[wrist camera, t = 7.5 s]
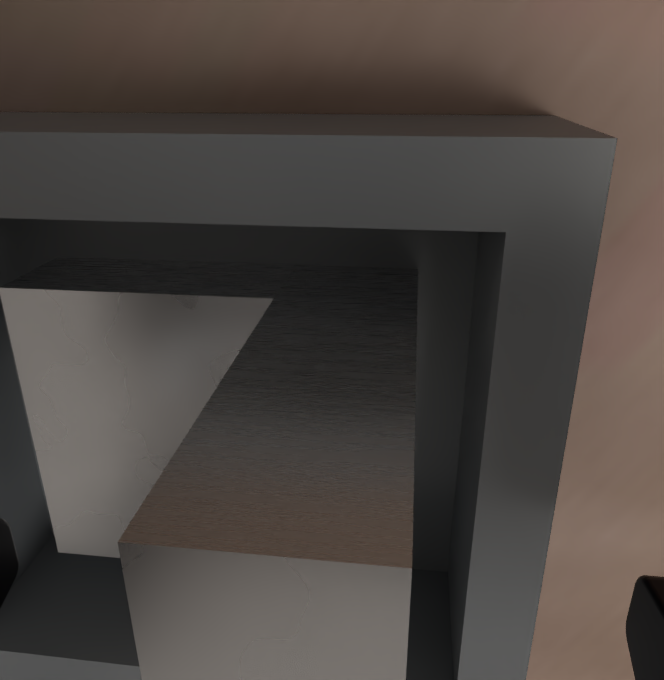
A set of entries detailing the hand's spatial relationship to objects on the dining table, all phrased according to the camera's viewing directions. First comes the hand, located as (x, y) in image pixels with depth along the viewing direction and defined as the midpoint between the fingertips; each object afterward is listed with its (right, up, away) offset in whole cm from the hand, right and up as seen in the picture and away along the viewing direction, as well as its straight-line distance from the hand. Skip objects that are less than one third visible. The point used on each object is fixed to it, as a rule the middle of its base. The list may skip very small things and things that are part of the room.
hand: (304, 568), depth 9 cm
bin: (-2, +2, +5) cm, 6 cm away
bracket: (-2, +2, +5) cm, 5 cm away
